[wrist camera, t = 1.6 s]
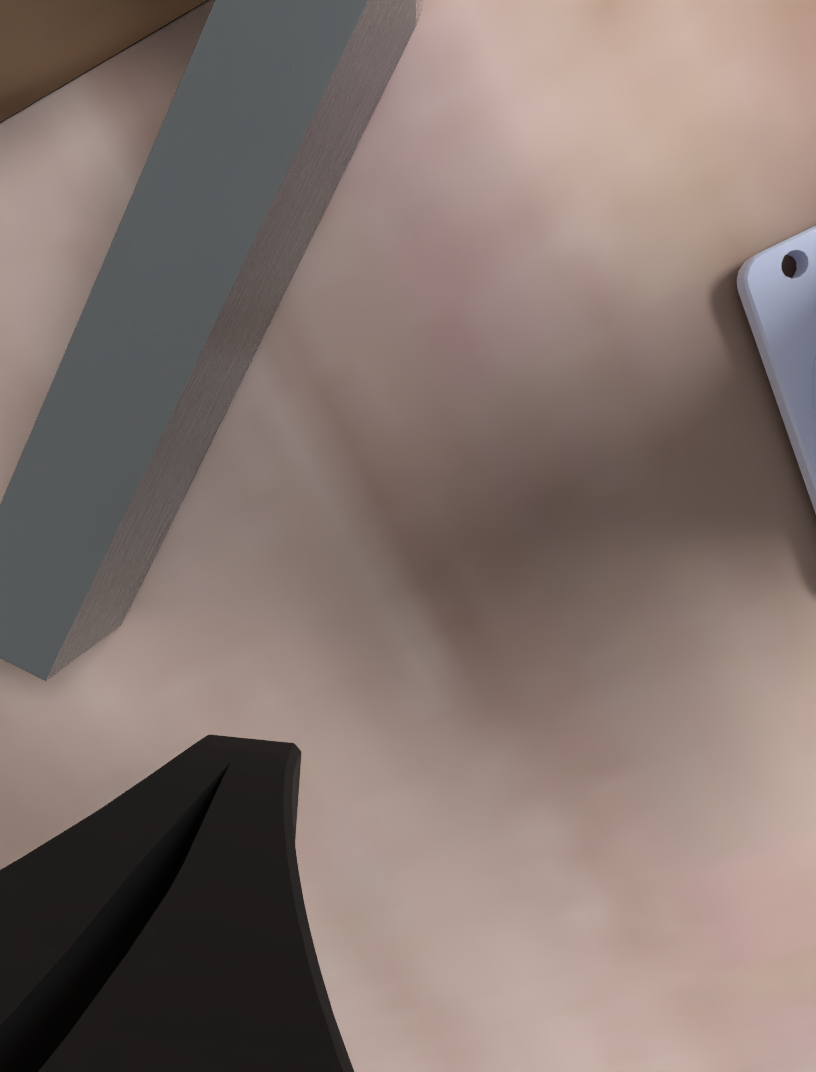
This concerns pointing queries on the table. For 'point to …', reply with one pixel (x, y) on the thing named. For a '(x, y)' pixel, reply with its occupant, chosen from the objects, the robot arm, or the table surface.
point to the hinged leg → (183, 306)
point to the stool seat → (69, 40)
